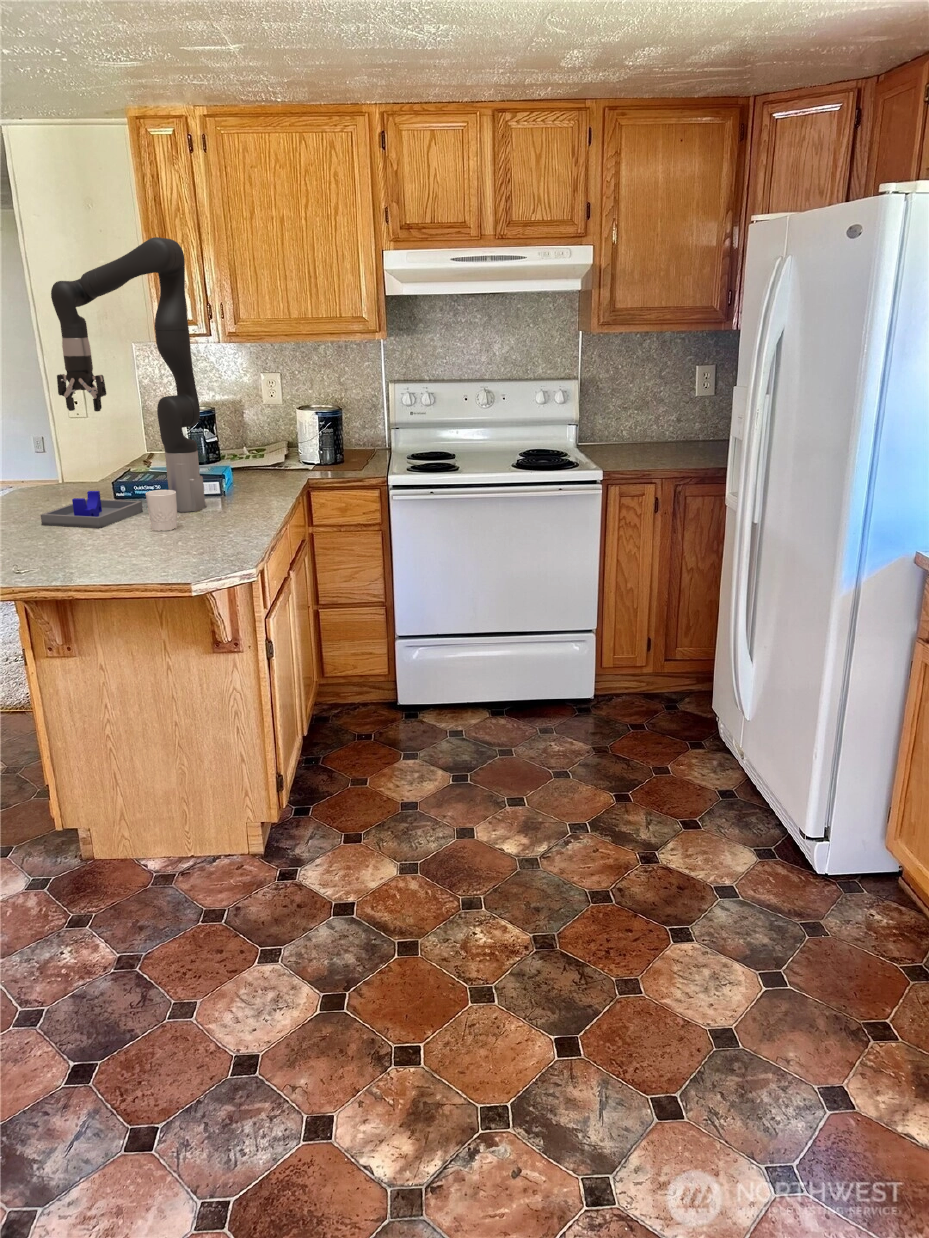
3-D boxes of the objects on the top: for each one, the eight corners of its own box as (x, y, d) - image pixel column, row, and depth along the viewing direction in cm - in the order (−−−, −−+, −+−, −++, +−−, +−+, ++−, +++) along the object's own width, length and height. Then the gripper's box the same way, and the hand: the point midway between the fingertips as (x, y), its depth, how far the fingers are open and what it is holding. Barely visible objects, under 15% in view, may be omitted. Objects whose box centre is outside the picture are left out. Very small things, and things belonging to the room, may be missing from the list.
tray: (142, 511, 273) (141, 501, 272) (100, 528, 252) (99, 517, 251) (88, 508, 276) (86, 498, 275) (42, 525, 256) (40, 514, 255)
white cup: (185, 526, 255) (181, 490, 252) (167, 533, 248) (164, 496, 245) (161, 524, 258) (157, 489, 254) (143, 530, 251) (139, 494, 247)
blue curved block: (91, 520, 258) (88, 499, 256) (75, 520, 258) (72, 499, 256) (107, 511, 269) (104, 491, 267) (91, 511, 269) (89, 490, 267)
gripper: (106, 353, 270) (113, 410, 275) (63, 353, 272) (70, 409, 278) (91, 355, 263) (99, 413, 268) (47, 354, 265) (55, 411, 271)
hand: (84, 411), depth 273 cm, fingers open, 8 cm apart
